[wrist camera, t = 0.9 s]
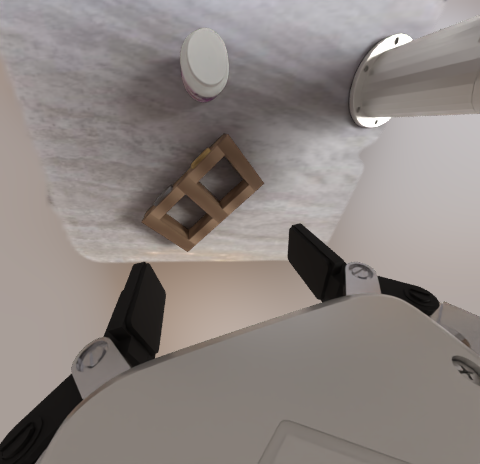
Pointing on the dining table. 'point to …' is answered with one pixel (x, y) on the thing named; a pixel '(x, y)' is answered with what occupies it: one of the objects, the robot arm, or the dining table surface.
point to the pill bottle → (204, 64)
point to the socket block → (203, 195)
